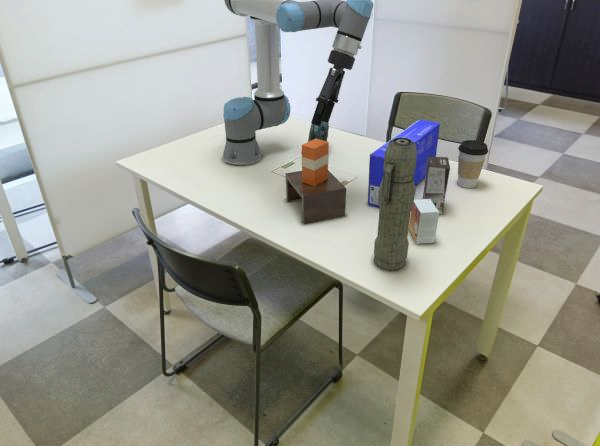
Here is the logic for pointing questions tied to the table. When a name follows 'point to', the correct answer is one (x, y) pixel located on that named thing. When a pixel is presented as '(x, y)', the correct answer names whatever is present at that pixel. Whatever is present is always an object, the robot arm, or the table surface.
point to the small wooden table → (317, 197)
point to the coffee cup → (470, 162)
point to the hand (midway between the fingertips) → (319, 123)
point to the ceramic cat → (319, 131)
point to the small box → (423, 221)
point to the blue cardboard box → (426, 146)
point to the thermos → (395, 204)
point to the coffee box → (436, 181)
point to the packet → (315, 162)
